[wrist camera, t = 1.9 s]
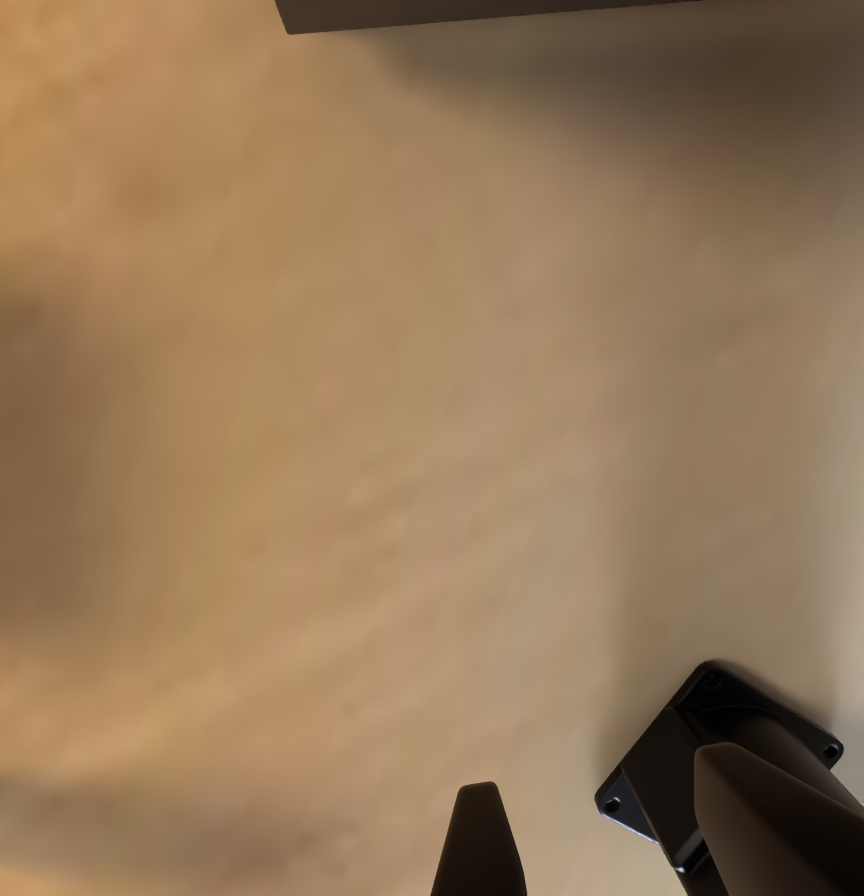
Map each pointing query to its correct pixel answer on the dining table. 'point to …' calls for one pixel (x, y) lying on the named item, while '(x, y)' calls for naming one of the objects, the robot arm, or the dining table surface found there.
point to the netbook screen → (423, 11)
